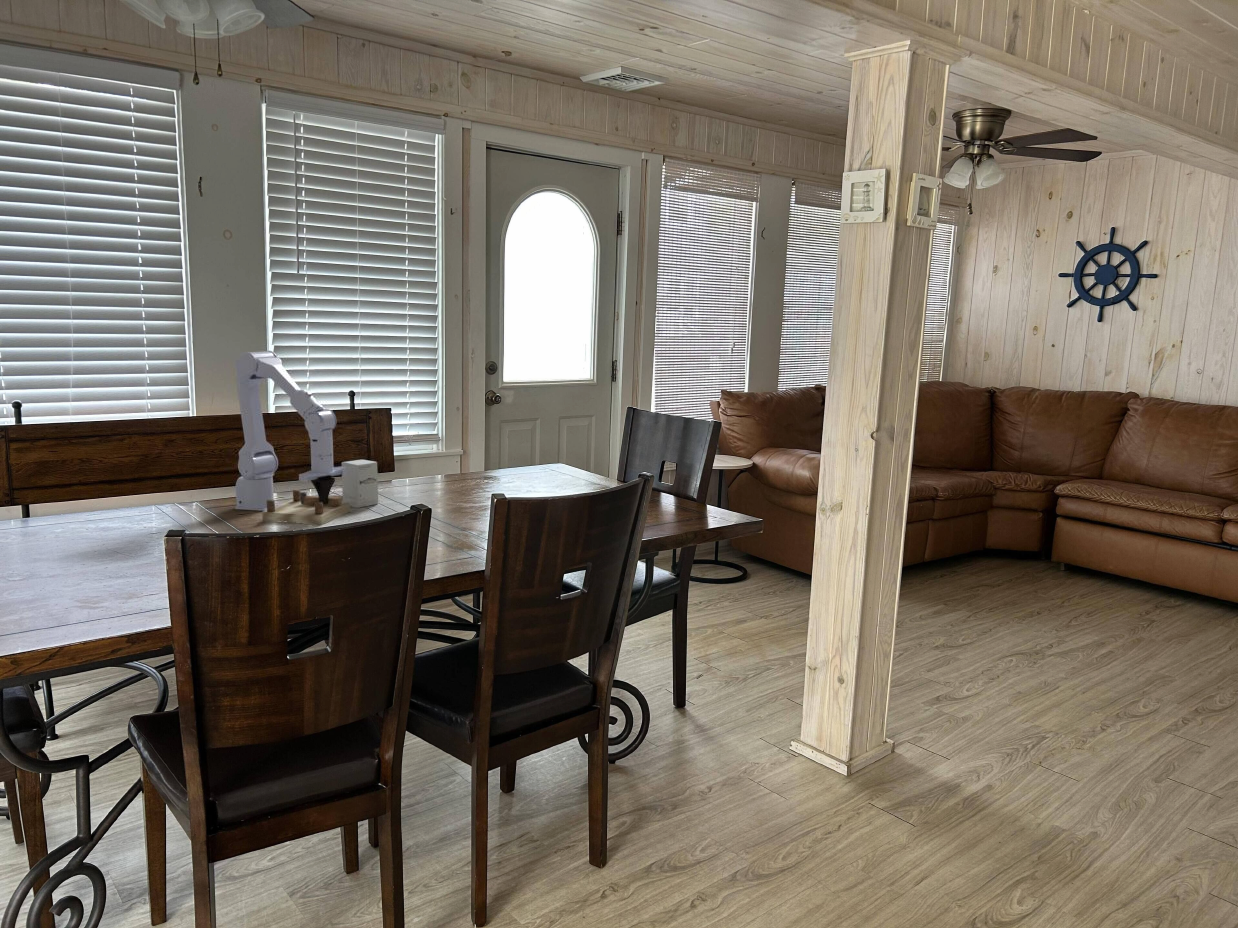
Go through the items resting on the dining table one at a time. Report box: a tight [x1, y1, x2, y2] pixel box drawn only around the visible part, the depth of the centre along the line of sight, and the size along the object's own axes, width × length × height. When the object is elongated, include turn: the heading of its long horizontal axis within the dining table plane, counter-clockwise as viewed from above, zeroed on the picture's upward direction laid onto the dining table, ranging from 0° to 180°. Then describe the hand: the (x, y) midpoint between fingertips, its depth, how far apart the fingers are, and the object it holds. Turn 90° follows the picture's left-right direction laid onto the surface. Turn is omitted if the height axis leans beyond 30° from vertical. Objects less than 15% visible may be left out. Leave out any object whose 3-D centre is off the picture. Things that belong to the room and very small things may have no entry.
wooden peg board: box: [261, 489, 351, 526], centre depth 248 cm, size 17×16×6 cm
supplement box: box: [341, 459, 379, 509], centre depth 262 cm, size 7×7×13 cm
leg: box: [300, 491, 342, 506], centre depth 250 cm, size 11×2×3 cm, turn 82°
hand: (323, 503), depth 248 cm, fingers closed, pressing on leg
